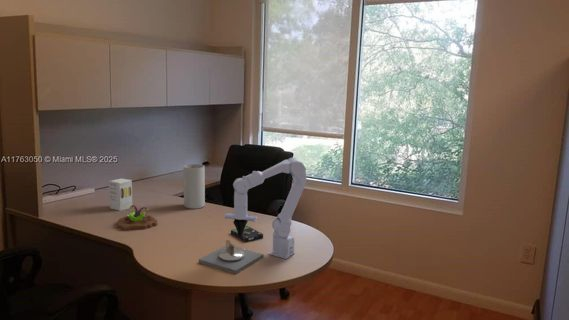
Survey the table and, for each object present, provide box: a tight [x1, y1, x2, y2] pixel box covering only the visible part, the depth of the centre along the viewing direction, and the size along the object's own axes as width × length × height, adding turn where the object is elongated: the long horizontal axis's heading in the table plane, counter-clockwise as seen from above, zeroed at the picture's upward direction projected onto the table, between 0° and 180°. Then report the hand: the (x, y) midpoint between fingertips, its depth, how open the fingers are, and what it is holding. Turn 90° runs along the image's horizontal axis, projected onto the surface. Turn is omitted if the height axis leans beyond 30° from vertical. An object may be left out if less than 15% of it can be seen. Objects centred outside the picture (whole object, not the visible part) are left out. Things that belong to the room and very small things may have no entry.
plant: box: [116, 204, 158, 232], centre depth 233 cm, size 20×20×11 cm
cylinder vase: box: [182, 163, 206, 210], centre depth 266 cm, size 12×12×25 cm
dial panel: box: [198, 245, 264, 275], centre depth 191 cm, size 20×20×2 cm
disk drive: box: [230, 225, 264, 243], centre depth 221 cm, size 10×3×15 cm
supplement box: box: [108, 177, 133, 212], centre depth 259 cm, size 10×9×17 cm
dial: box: [219, 239, 244, 262], centre depth 192 cm, size 14×11×5 cm
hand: (240, 235), depth 193 cm, fingers closed
